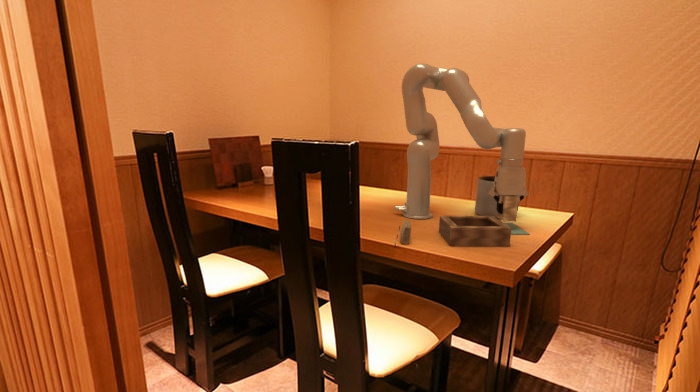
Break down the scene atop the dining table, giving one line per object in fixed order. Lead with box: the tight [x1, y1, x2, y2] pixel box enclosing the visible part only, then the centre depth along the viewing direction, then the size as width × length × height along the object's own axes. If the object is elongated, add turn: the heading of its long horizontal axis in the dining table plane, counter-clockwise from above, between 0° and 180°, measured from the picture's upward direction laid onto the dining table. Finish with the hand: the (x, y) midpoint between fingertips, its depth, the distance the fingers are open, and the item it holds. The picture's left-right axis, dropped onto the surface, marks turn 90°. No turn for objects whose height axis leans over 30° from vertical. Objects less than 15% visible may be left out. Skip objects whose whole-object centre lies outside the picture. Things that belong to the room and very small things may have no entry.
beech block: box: [497, 196, 519, 222], centre depth 135 cm, size 4×6×9 cm
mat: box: [503, 222, 531, 236], centre depth 137 cm, size 12×14×1 cm
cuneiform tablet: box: [393, 219, 412, 248], centre depth 121 cm, size 7×4×12 cm
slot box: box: [438, 214, 512, 248], centre depth 124 cm, size 19×15×6 cm
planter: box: [474, 175, 500, 220], centre depth 155 cm, size 16×16×16 cm
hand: (506, 212), depth 136 cm, fingers closed on beech block, 4 cm apart
